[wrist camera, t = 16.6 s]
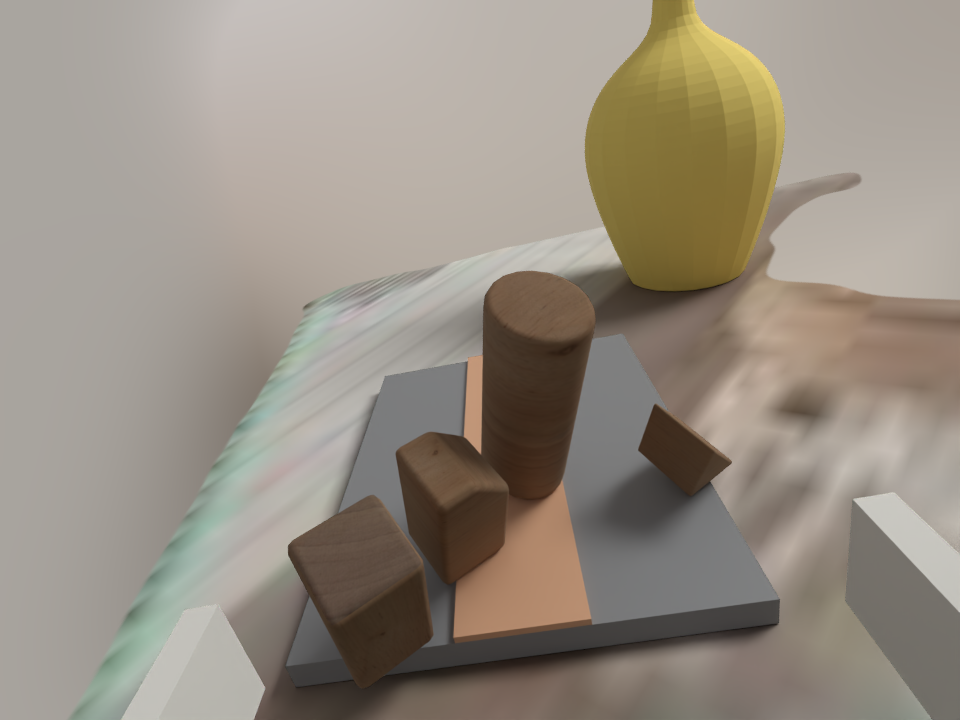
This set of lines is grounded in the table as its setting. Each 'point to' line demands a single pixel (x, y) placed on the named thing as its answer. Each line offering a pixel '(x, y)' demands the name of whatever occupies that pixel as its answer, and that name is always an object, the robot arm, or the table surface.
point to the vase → (685, 153)
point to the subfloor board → (559, 534)
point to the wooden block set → (473, 478)
